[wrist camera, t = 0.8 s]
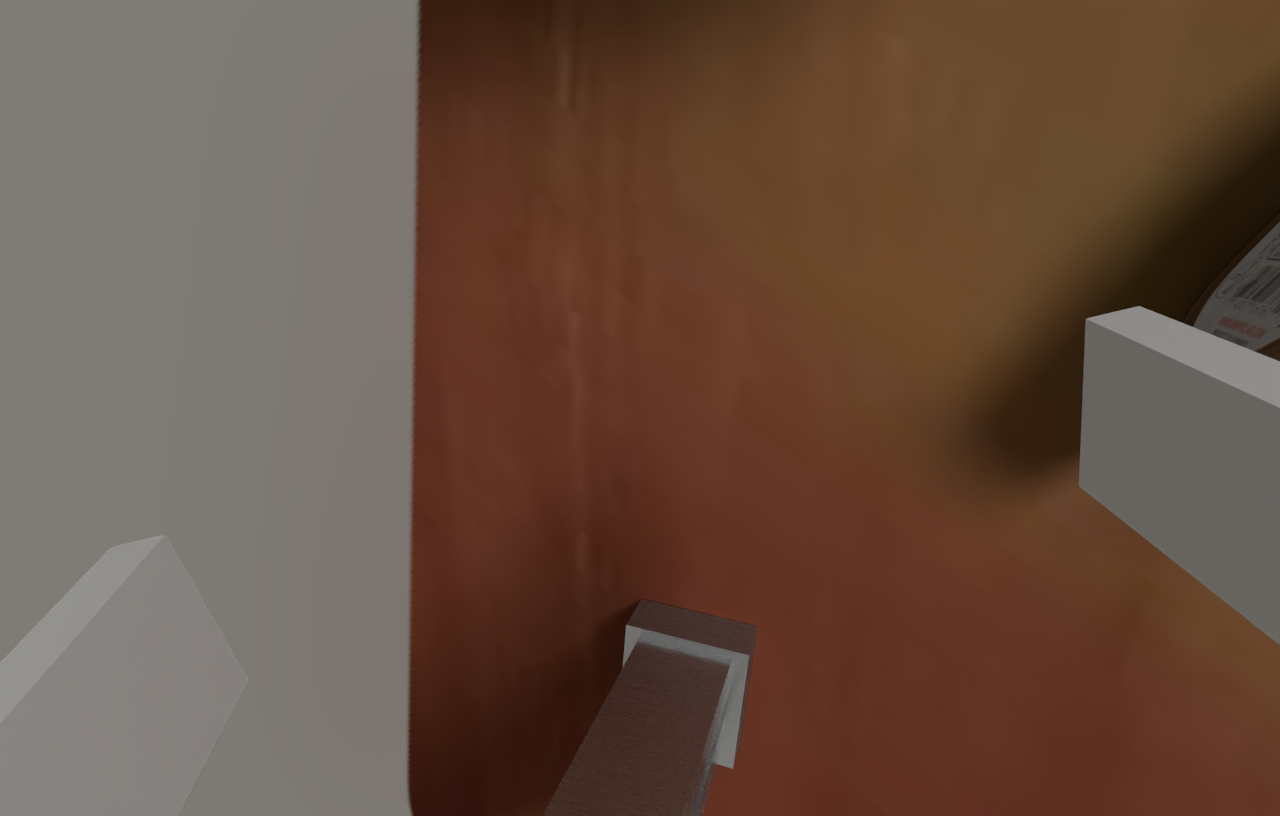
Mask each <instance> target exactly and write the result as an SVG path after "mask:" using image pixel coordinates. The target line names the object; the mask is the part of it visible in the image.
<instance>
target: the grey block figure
mask: <svg viewBox="0 0 1280 816" xmlns="http://www.w3.org/2000/svg"><path fill="white" fill-rule="evenodd" d="M756 633H757V626H753V625H749V624H745V623H741V622H737V621H732V620H728V619H724V618H720V617H716V616H711V615H707V614H703V613H699V612H695V611H690V610H686V609H682V608H678V607H673V606H669V605H665V604H661V603H657V602H652V601H648V600H644V599H641V600H640V602H639V604H638V606H637V607H636V609H635V611H634V612H633V614H632V616H631V617H630V619H629V621H628V623H627V624H626V633H625V645H624V657H623V668H622V670H621V672H620V674H619V676H618V677H617V679H616V681H615V683H614V685H613V687H612V688H611V690H610V692H609V694H608V696H607V698H606V700H605V701H604V703H603V705H602V707H601V709H600V711H599V712H598V714H597V716H596V718H595V720H594V722H593V724H592V725H591V727H590V729H589V731H588V733H587V735H586V736H585V738H584V740H583V742H582V744H581V746H580V748H579V749H578V751H577V753H576V755H575V757H574V759H573V760H572V762H571V764H570V766H569V768H568V770H567V771H566V773H565V775H564V777H563V779H562V781H561V783H560V784H559V786H558V788H557V790H556V792H555V794H554V795H553V797H552V799H551V801H550V803H549V805H548V807H547V808H546V810H545V812H544V814H543V816H702V815H703V812H704V808H705V805H706V801H707V798H708V794H709V791H710V787H711V784H712V780H713V777H714V773H715V770H716V766H717V764H719V765H722V766H726V767H729V768H732V769H733V767H734V763H735V759H736V755H737V751H738V747H739V743H740V740H741V736H742V730H743V723H744V716H745V709H746V702H747V695H748V688H749V681H750V674H751V667H752V660H753V654H754V647H755V640H756Z"/></svg>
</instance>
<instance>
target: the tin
mask: <svg viewBox="0 0 1280 816" xmlns="http://www.w3.org/2000/svg"><path fill="white" fill-rule="evenodd" d="M1183 323H1184V324H1186V325H1189V326H1191V327H1194V328H1196V329H1199V330H1201V331H1204V332H1207V333H1209V334H1212V335H1214V336H1217V337H1219V338H1222V339H1224V340H1227V341H1229V342H1232V343H1234V344H1237V345H1239V346H1242V347H1244V348H1247V349H1249V350H1252V351H1255V352H1257V353H1260V354H1262V355H1265V356H1267V357H1270V358H1272V359H1275V360H1277V361H1280V213H1279V214H1278V215H1277V216H1276V217H1275V218H1274V219H1273V220H1272V221H1271V222H1270V223H1269V224H1268V225H1267V226H1266V227H1265V228H1264V229H1263V230H1262V231H1260V232H1259V233H1258V234H1257V235H1256V236H1255V237H1254V238H1253V239H1252V240H1251V241H1250V242H1249V243H1248V244H1247V245H1246V246H1245V247H1244V248H1243V249H1242V250H1241V251H1240V252H1239V253H1238V254H1237V255H1236V257H1235V258H1234V259H1233V260H1232V261H1231V262H1230V263H1229V264H1228V265H1227V266H1226V267H1225V268H1224V269H1223V271H1222V272H1221V273H1220V274H1219V275H1218V276H1217V277H1216V278H1215V279H1214V280H1213V282H1212V283H1211V284H1210V285H1209V287H1208V288H1207V289H1206V290H1205V291H1204V293H1203V294H1202V295H1201V297H1200V298H1199V299H1198V300H1197V302H1196V303H1195V305H1194V306H1193V307H1192V309H1191V310H1190V312H1189V313H1188V315H1187V316H1186V318H1185V320H1184V321H1183Z"/></svg>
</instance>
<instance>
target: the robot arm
mask: <svg viewBox="0 0 1280 816" xmlns="http://www.w3.org/2000/svg"><path fill="white" fill-rule="evenodd" d="M1079 487H1081V488H1082V489H1083V490H1084V491H1086V492H1087V493H1088V494H1089V495H1091V496H1092V497H1093V498H1095V499H1096V500H1097V501H1098V502H1100V503H1101V504H1102V505H1103V506H1105V507H1106V508H1107V509H1108V510H1110V511H1111V512H1112V513H1113V514H1115V515H1116V516H1117V517H1119V518H1120V519H1121V520H1122V521H1124V522H1125V523H1126V524H1127V525H1129V526H1130V527H1131V528H1132V529H1134V530H1135V531H1136V532H1137V533H1139V534H1140V535H1141V536H1143V537H1144V538H1145V539H1146V540H1148V541H1149V542H1150V543H1151V544H1153V545H1154V546H1155V547H1156V548H1158V549H1159V550H1160V551H1162V552H1163V553H1164V554H1165V555H1167V556H1168V557H1169V558H1170V559H1172V560H1173V561H1174V562H1175V563H1177V564H1178V565H1179V566H1180V567H1182V568H1183V569H1184V570H1186V571H1187V572H1188V573H1189V574H1191V575H1192V576H1193V577H1194V578H1196V579H1197V580H1198V581H1199V582H1201V583H1202V584H1203V585H1204V586H1206V587H1207V588H1208V589H1210V590H1211V591H1212V592H1213V593H1215V594H1216V595H1217V596H1218V597H1220V598H1221V599H1222V600H1223V601H1225V602H1226V603H1227V604H1228V605H1230V606H1231V607H1232V608H1234V609H1235V610H1236V611H1237V612H1239V613H1240V614H1241V615H1242V616H1244V617H1245V618H1246V619H1247V620H1249V621H1250V622H1251V623H1253V624H1254V625H1255V626H1256V627H1258V628H1259V629H1260V630H1261V631H1263V632H1264V633H1265V634H1266V635H1268V636H1269V637H1270V638H1271V639H1273V640H1274V641H1275V642H1277V643H1278V644H1279V645H1280V361H1277V360H1275V359H1272V358H1270V357H1267V356H1265V355H1262V354H1260V353H1257V352H1255V351H1252V350H1249V349H1247V348H1244V347H1242V346H1239V345H1237V344H1234V343H1232V342H1229V341H1227V340H1224V339H1222V338H1219V337H1217V336H1214V335H1212V334H1209V333H1207V332H1204V331H1201V330H1199V329H1196V328H1194V327H1191V326H1189V325H1186V324H1184V323H1181V322H1179V321H1176V320H1174V319H1171V318H1169V317H1166V316H1164V315H1161V314H1159V313H1156V312H1153V311H1151V310H1148V309H1146V308H1143V307H1141V306H1137V307H1133V308H1129V309H1124V310H1120V311H1116V312H1111V313H1107V314H1103V315H1099V316H1094V317H1090V318H1086V324H1085V348H1084V372H1083V396H1082V420H1081V444H1080V469H1079ZM248 682H249V679H248V677H247V676H246V674H245V672H244V670H243V669H242V667H241V665H240V663H239V662H238V660H237V658H236V657H235V655H234V653H233V651H232V650H231V648H230V646H229V644H228V643H227V641H226V639H225V637H224V636H223V634H222V632H221V630H220V629H219V627H218V625H217V623H216V622H215V620H214V618H213V617H212V615H211V613H210V611H209V610H208V608H207V606H206V605H205V603H204V601H203V599H202V597H201V596H200V594H199V592H198V591H197V589H196V587H195V585H194V584H193V582H192V580H191V578H190V577H189V575H188V573H187V571H186V570H185V568H184V566H183V565H182V563H181V561H180V559H179V558H178V556H177V554H176V552H175V551H174V549H173V547H172V545H171V544H170V542H169V540H168V538H167V537H166V535H160V536H156V537H152V538H148V539H143V540H139V541H134V542H130V543H126V544H122V545H117V546H113V547H111V548H110V549H109V550H108V551H107V552H106V553H105V554H104V555H103V556H102V557H101V558H100V559H99V560H98V561H97V562H96V563H95V565H94V566H93V567H92V568H91V569H90V570H89V571H88V572H87V573H86V574H85V575H84V576H83V577H82V578H81V579H80V580H79V581H78V582H77V583H76V584H75V585H74V586H73V587H72V588H71V590H69V592H68V593H67V594H66V595H65V596H64V597H63V598H62V599H61V600H60V601H59V602H58V603H57V604H56V605H55V606H54V607H53V608H52V609H51V610H50V611H49V612H48V613H47V615H46V616H44V618H43V619H42V620H41V621H40V622H39V623H38V624H37V625H36V626H35V627H34V628H33V629H32V630H31V631H30V632H29V633H28V634H27V635H26V636H25V637H24V638H23V640H22V641H21V642H19V644H18V645H17V646H16V647H15V648H14V649H13V650H12V651H11V652H10V653H9V654H8V655H7V656H6V657H5V658H4V659H3V660H2V661H1V662H0V816H179V815H180V813H181V811H182V809H183V807H184V805H185V803H186V801H187V799H188V797H189V796H190V794H191V792H192V789H193V788H194V786H195V784H196V782H197V780H198V778H199V776H200V774H201V772H202V771H203V768H204V766H205V765H206V763H207V761H208V759H209V757H210V755H211V753H212V751H213V749H214V747H215V745H216V744H217V742H218V740H219V738H220V736H221V734H222V732H223V730H224V728H225V726H226V724H227V722H228V721H229V718H230V717H231V715H232V713H233V711H234V709H235V707H236V705H237V703H238V701H239V699H240V697H241V695H242V693H243V692H244V690H245V688H246V686H247V684H248Z"/></svg>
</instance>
